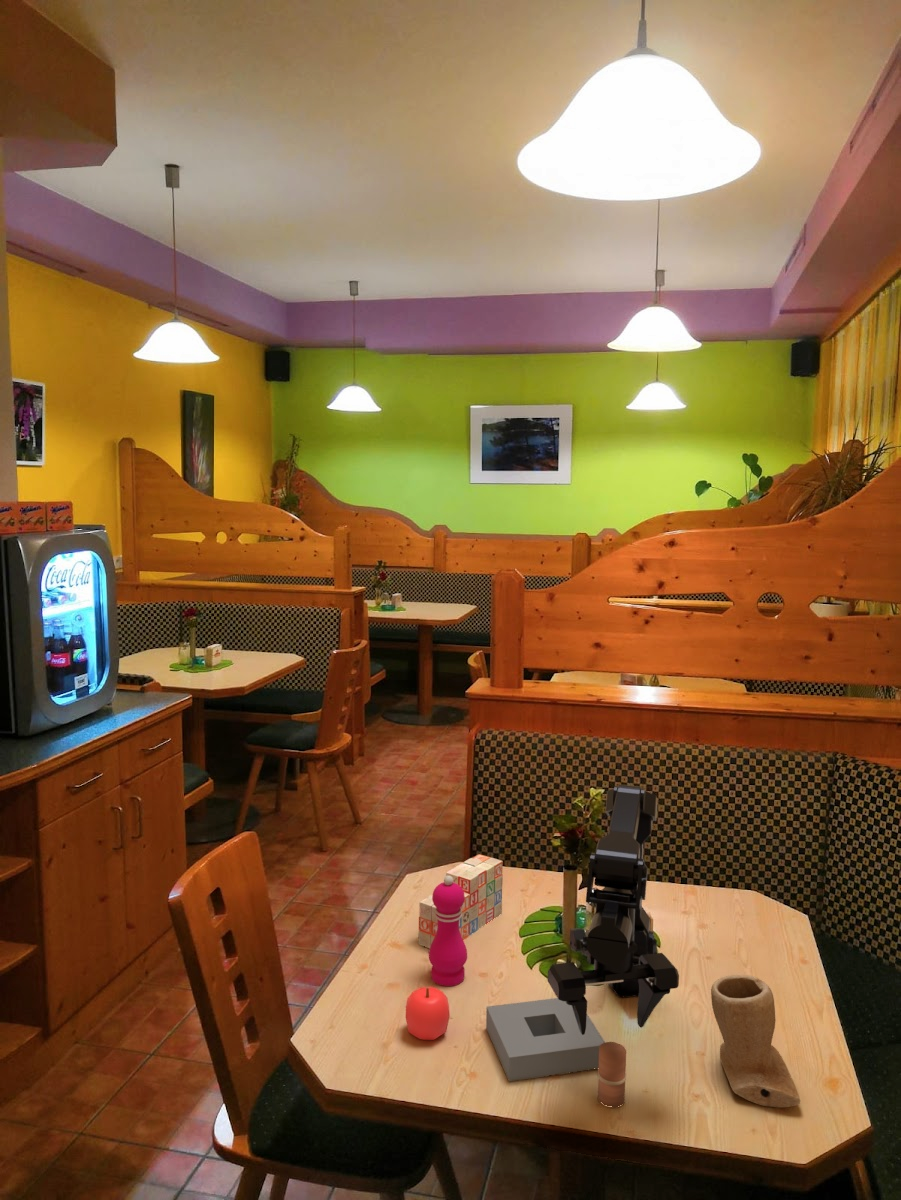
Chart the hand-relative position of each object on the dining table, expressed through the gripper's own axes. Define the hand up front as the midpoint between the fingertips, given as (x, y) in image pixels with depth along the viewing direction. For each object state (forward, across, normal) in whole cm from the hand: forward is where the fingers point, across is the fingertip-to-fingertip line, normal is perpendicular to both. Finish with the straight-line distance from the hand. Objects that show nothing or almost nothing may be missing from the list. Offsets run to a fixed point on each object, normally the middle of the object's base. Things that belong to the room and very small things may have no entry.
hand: (611, 1029), depth 135 cm
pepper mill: (+11, +17, -38) cm, 43 cm away
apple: (+11, +24, -22) cm, 34 cm away
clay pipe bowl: (+11, -23, 0) cm, 26 cm away
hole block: (+11, +6, -14) cm, 19 cm away
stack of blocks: (+11, +10, -55) cm, 57 cm away
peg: (+11, 0, 0) cm, 11 cm away
